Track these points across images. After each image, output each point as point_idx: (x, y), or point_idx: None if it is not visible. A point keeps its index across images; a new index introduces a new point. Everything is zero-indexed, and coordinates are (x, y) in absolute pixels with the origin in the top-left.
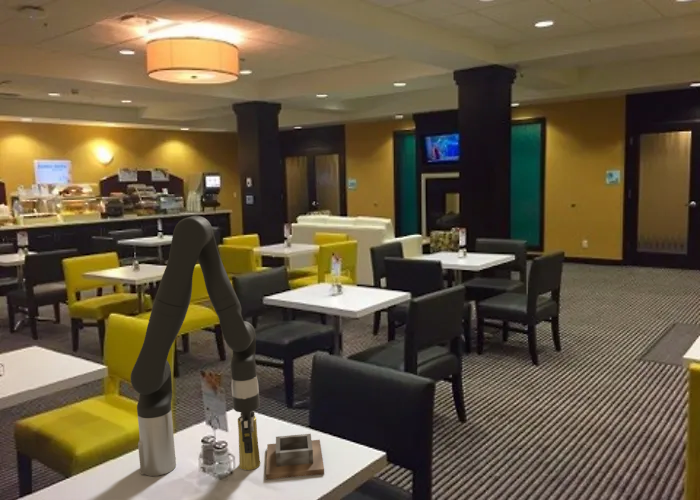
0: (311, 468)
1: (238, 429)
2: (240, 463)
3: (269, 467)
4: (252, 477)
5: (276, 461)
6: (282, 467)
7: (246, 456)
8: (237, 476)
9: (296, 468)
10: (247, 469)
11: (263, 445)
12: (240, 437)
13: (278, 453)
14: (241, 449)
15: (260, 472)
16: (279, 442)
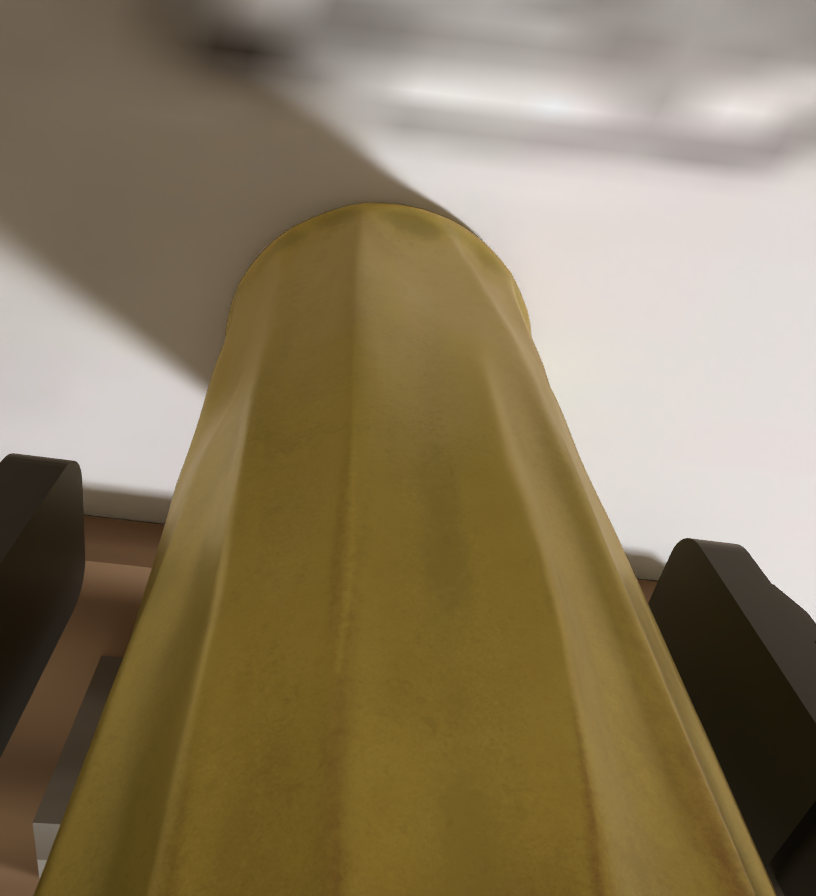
0: (9, 880)
1: (330, 828)
2: (329, 241)
3: (95, 591)
4: (17, 349)
5: (79, 713)
6: (68, 701)
7: (204, 405)
8: (78, 137)
9: (26, 795)
10: (229, 314)
11: (809, 554)
12: (217, 592)
13: (35, 840)
14: (251, 387)
15: (139, 455)
16: None
